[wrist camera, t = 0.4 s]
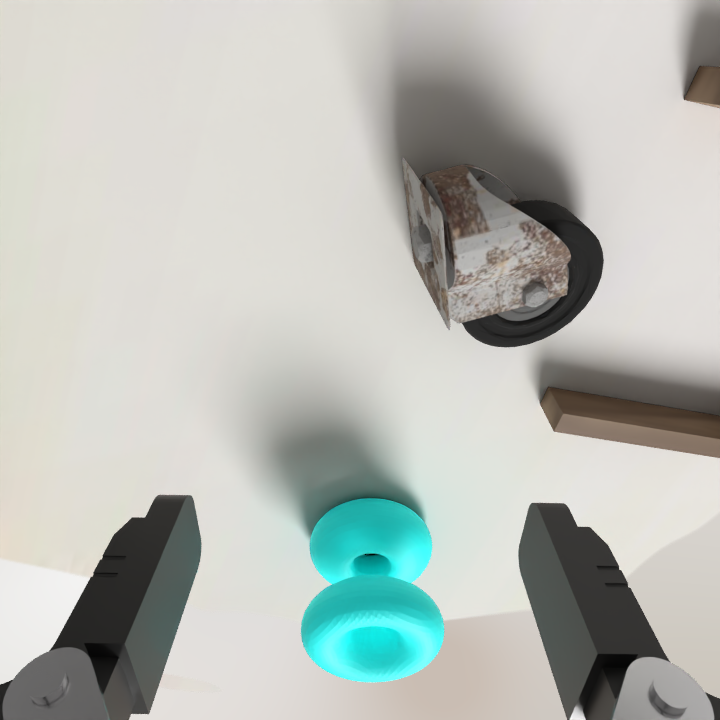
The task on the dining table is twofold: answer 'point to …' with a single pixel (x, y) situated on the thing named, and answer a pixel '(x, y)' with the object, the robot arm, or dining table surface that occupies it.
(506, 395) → the dining table surface
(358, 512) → the donuts
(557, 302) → the caster wheel
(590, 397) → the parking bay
